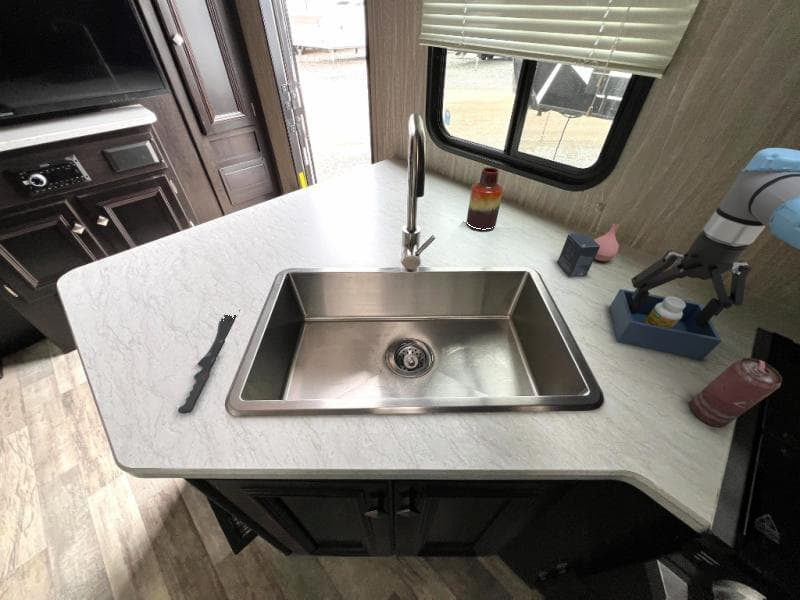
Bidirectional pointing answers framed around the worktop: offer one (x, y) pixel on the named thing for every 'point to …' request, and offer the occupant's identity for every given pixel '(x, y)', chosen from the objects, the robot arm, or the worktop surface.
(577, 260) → the box
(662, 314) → the supplement bottle
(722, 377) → the can
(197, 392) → the knife
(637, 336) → the box
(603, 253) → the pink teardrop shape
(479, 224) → the vase
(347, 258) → the worktop surface
